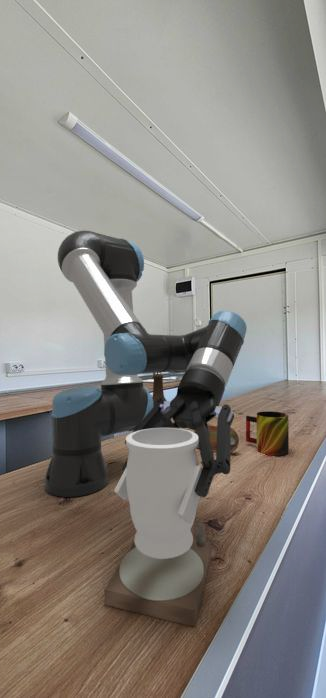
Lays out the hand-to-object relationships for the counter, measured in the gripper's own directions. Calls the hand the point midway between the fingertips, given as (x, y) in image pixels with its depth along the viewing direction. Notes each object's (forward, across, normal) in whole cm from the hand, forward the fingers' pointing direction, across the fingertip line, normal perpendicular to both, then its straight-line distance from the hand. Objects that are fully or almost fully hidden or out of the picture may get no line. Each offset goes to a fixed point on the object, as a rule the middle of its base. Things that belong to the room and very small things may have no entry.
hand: (149, 506), depth 43 cm
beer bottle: (-32, +42, -49) cm, 72 cm away
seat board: (+6, +1, -11) cm, 13 cm away
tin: (-34, +20, -51) cm, 64 cm away
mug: (-40, +8, -57) cm, 70 cm away
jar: (+2, 0, -6) cm, 7 cm away
